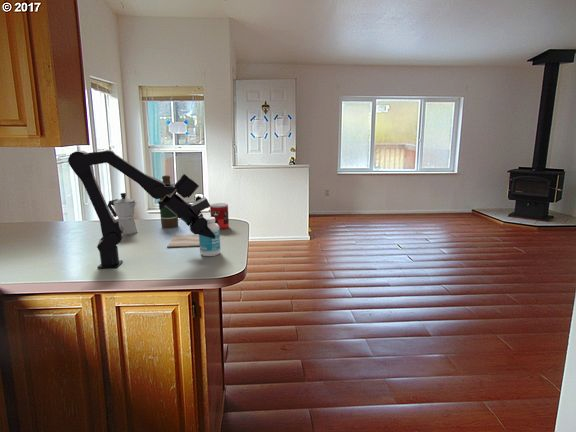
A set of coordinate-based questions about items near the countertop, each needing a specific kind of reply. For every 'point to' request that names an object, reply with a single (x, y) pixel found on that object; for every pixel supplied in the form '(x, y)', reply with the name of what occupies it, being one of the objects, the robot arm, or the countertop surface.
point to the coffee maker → (124, 213)
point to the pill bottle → (210, 239)
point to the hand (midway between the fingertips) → (213, 234)
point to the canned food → (220, 214)
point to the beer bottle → (167, 211)
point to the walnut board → (184, 241)
